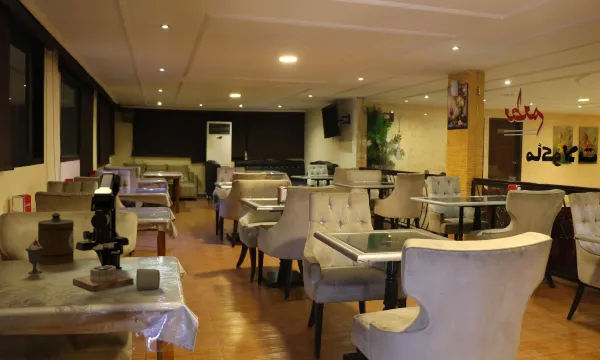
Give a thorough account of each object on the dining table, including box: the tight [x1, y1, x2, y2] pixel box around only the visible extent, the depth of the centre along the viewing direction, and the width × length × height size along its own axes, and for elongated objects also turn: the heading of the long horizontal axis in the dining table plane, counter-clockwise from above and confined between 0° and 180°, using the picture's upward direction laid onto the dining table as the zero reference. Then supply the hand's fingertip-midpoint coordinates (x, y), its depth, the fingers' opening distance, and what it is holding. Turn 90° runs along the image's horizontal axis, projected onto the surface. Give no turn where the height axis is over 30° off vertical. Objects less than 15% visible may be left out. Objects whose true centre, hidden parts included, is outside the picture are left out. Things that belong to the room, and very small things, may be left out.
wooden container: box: [37, 212, 75, 265], centre depth 236 cm, size 15×15×22 cm
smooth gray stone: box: [96, 267, 110, 270], centre depth 199 cm, size 5×5×4 cm
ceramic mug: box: [135, 268, 161, 291], centre depth 194 cm, size 11×8×8 cm
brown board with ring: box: [72, 265, 134, 293], centre depth 199 cm, size 16×16×6 cm
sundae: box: [25, 236, 44, 275], centre depth 213 cm, size 7×7×15 cm
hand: (103, 265), depth 198 cm, fingers closed
